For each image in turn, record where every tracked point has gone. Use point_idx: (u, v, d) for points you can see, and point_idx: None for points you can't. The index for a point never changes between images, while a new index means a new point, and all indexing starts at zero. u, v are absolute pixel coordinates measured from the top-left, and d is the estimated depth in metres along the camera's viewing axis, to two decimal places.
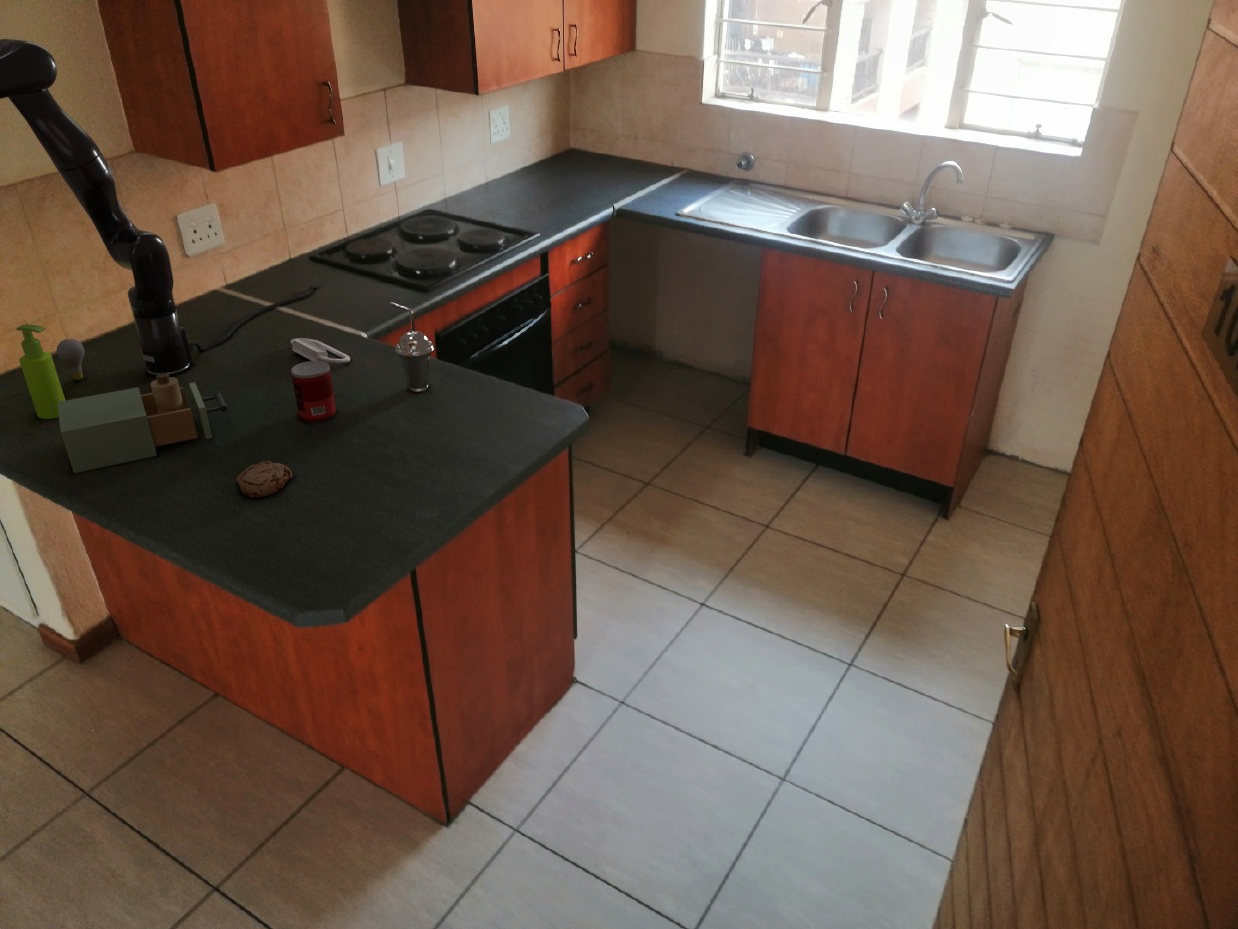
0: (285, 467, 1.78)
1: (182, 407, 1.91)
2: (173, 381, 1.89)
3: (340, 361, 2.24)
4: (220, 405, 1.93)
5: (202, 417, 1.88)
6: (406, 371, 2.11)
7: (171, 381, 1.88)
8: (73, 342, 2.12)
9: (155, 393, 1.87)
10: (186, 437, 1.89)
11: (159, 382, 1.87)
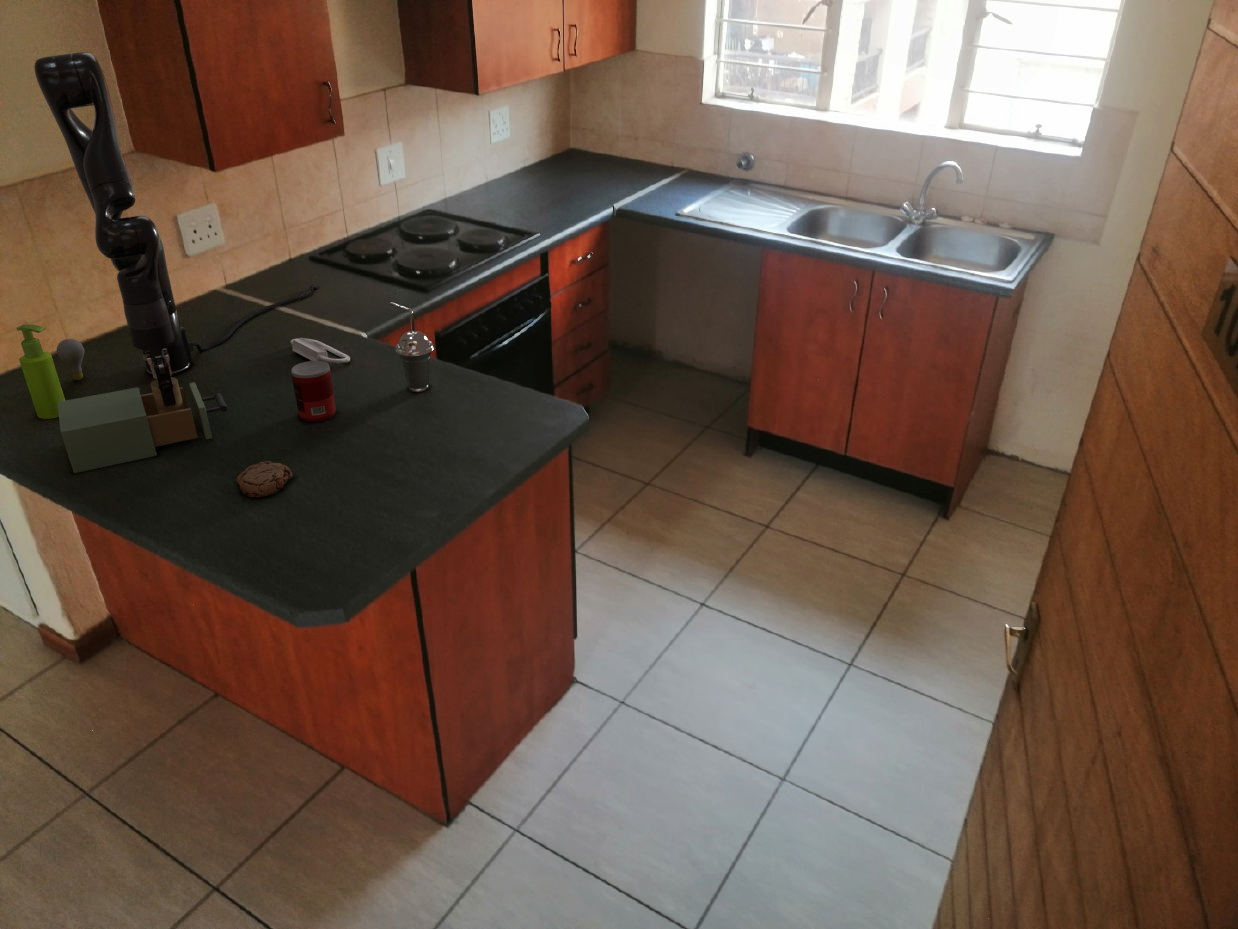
0: (285, 467, 1.78)
1: (182, 407, 1.91)
2: (173, 381, 1.88)
3: (340, 361, 2.24)
4: (220, 405, 1.93)
5: (202, 417, 1.88)
6: (406, 371, 2.11)
7: None
8: (73, 342, 2.12)
9: (155, 393, 1.87)
10: (186, 437, 1.89)
11: None
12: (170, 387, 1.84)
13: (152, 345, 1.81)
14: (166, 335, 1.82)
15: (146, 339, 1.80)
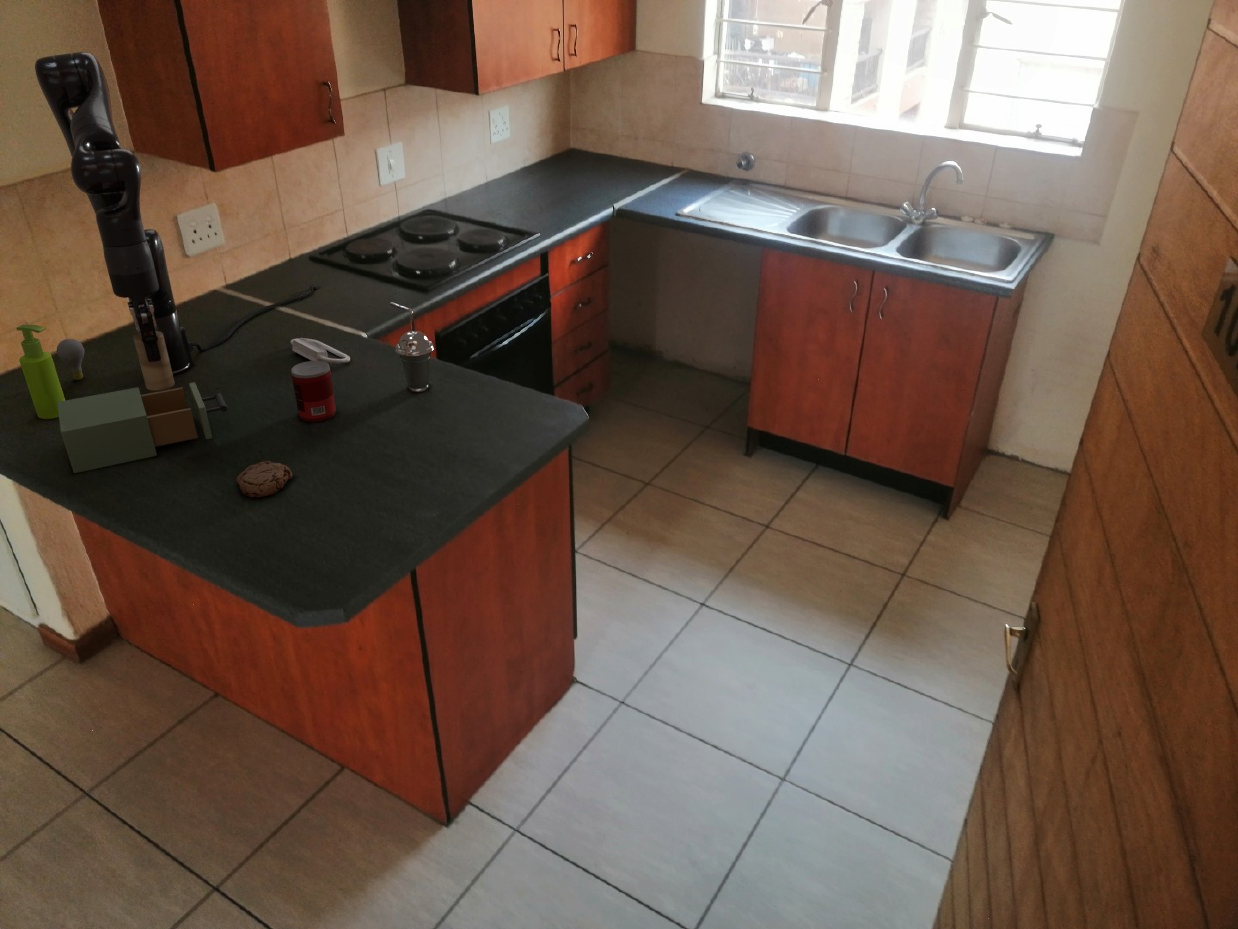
0: (285, 467, 1.78)
1: (168, 364, 1.75)
2: (158, 335, 1.73)
3: (340, 361, 2.24)
4: (220, 405, 1.93)
5: (202, 417, 1.88)
6: (406, 371, 2.11)
7: None
8: (73, 342, 2.12)
9: (138, 347, 1.71)
10: (186, 437, 1.89)
11: None
12: (154, 339, 1.68)
13: (134, 292, 1.65)
14: (149, 282, 1.66)
15: (128, 286, 1.64)
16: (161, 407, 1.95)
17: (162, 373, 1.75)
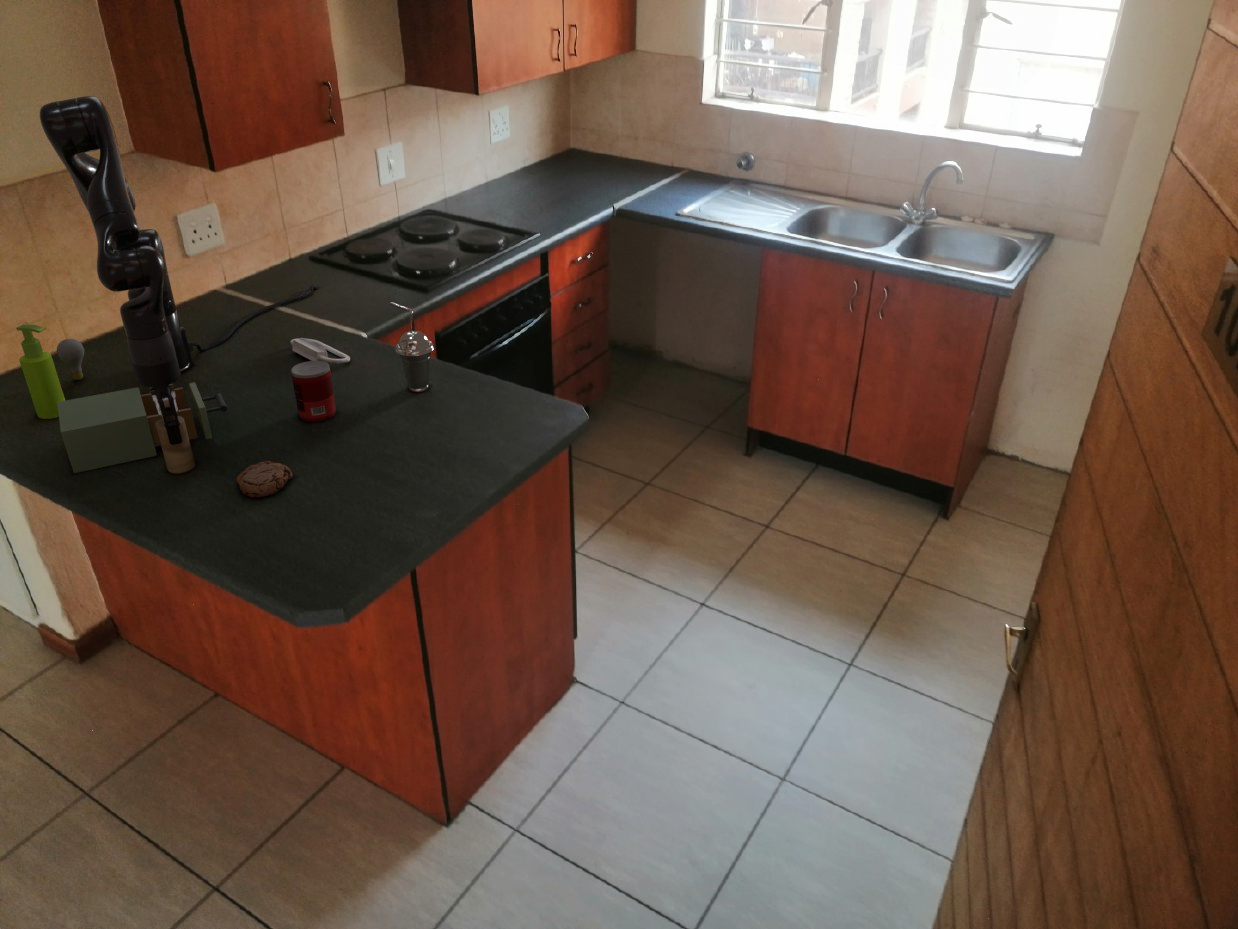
0: (285, 467, 1.78)
1: (189, 447, 1.81)
2: (179, 420, 1.78)
3: (340, 361, 2.24)
4: (220, 405, 1.93)
5: (202, 417, 1.88)
6: (406, 371, 2.11)
7: None
8: (73, 342, 2.12)
9: (161, 433, 1.77)
10: None
11: None
12: (176, 425, 1.72)
13: (157, 381, 1.70)
14: (172, 371, 1.71)
15: (151, 376, 1.69)
16: None
17: (184, 457, 1.80)
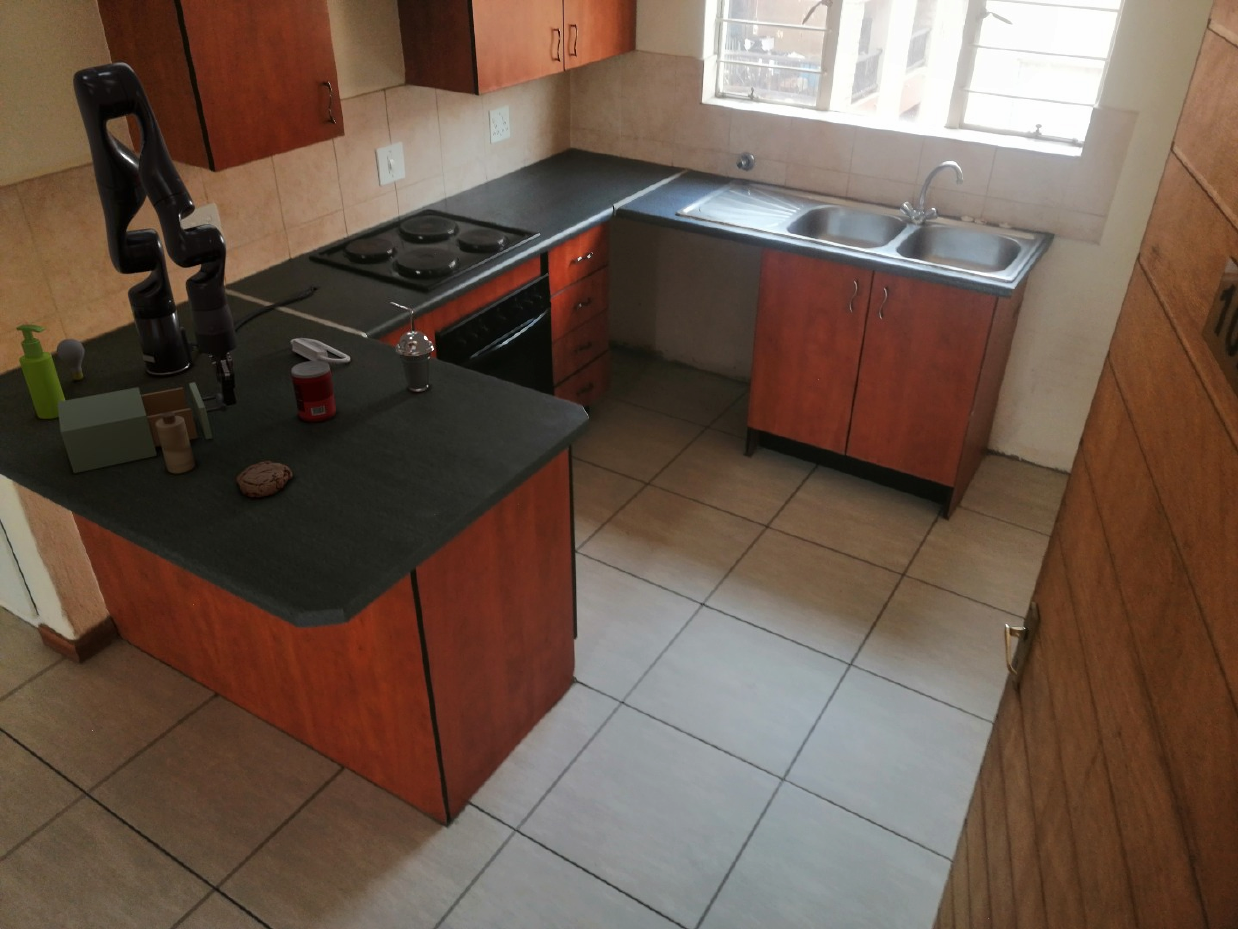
0: (285, 467, 1.78)
1: (189, 447, 1.81)
2: (179, 420, 1.78)
3: (340, 361, 2.24)
4: (220, 405, 1.93)
5: (202, 417, 1.88)
6: (406, 371, 2.11)
7: (177, 420, 1.78)
8: (73, 342, 2.12)
9: (161, 433, 1.77)
10: None
11: (165, 422, 1.77)
12: (232, 387, 1.92)
13: (218, 349, 1.87)
14: (230, 340, 1.88)
15: (212, 344, 1.86)
16: (161, 407, 1.95)
17: (184, 457, 1.80)
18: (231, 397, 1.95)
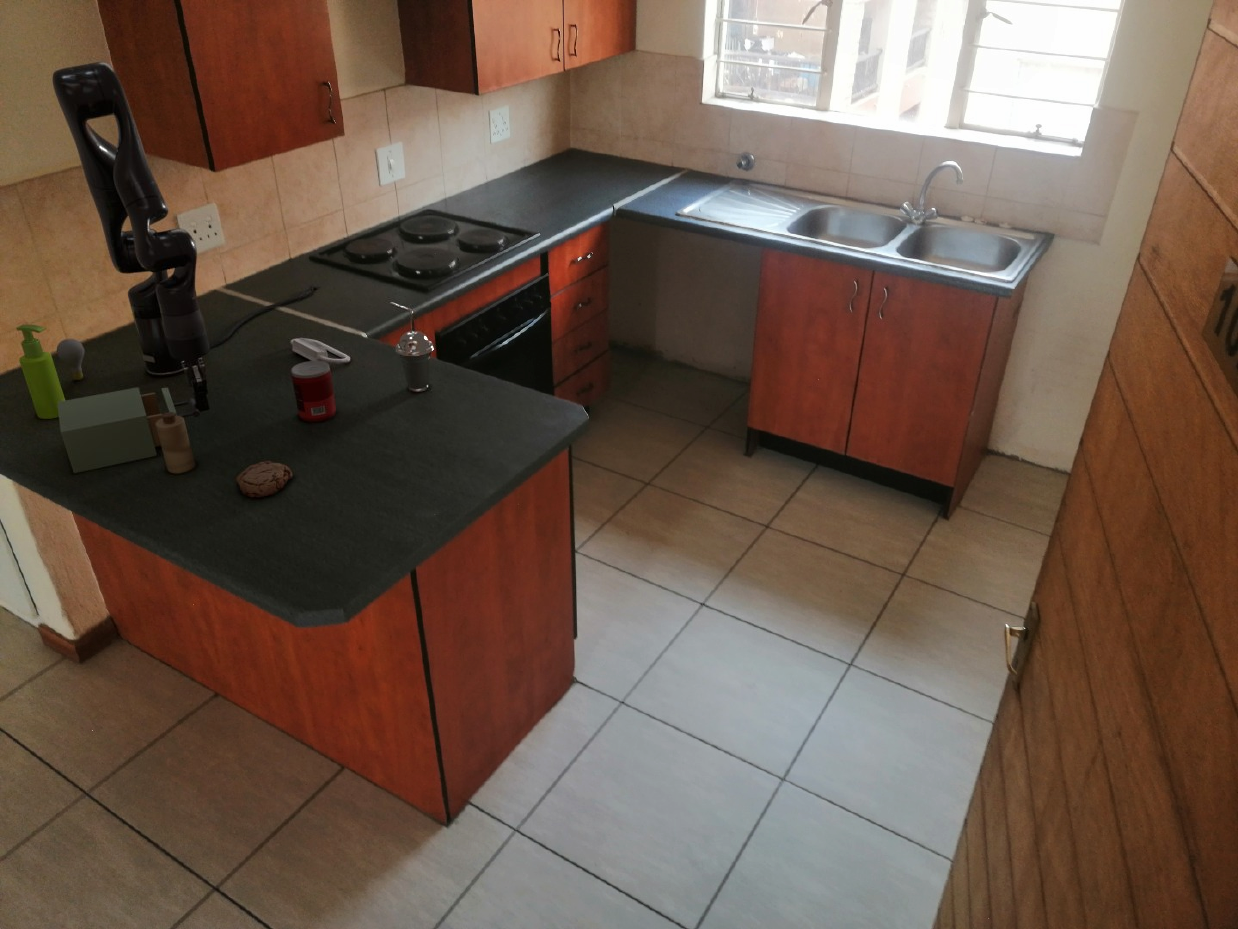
0: (285, 467, 1.78)
1: (189, 447, 1.81)
2: (179, 420, 1.78)
3: (340, 361, 2.24)
4: (192, 410, 1.91)
5: None
6: (406, 371, 2.11)
7: (177, 420, 1.78)
8: (73, 342, 2.12)
9: (161, 433, 1.77)
10: (157, 443, 1.87)
11: (165, 422, 1.77)
12: (204, 393, 1.90)
13: (189, 355, 1.85)
14: (202, 345, 1.86)
15: (183, 349, 1.84)
16: None
17: (184, 457, 1.80)
18: (204, 403, 1.93)
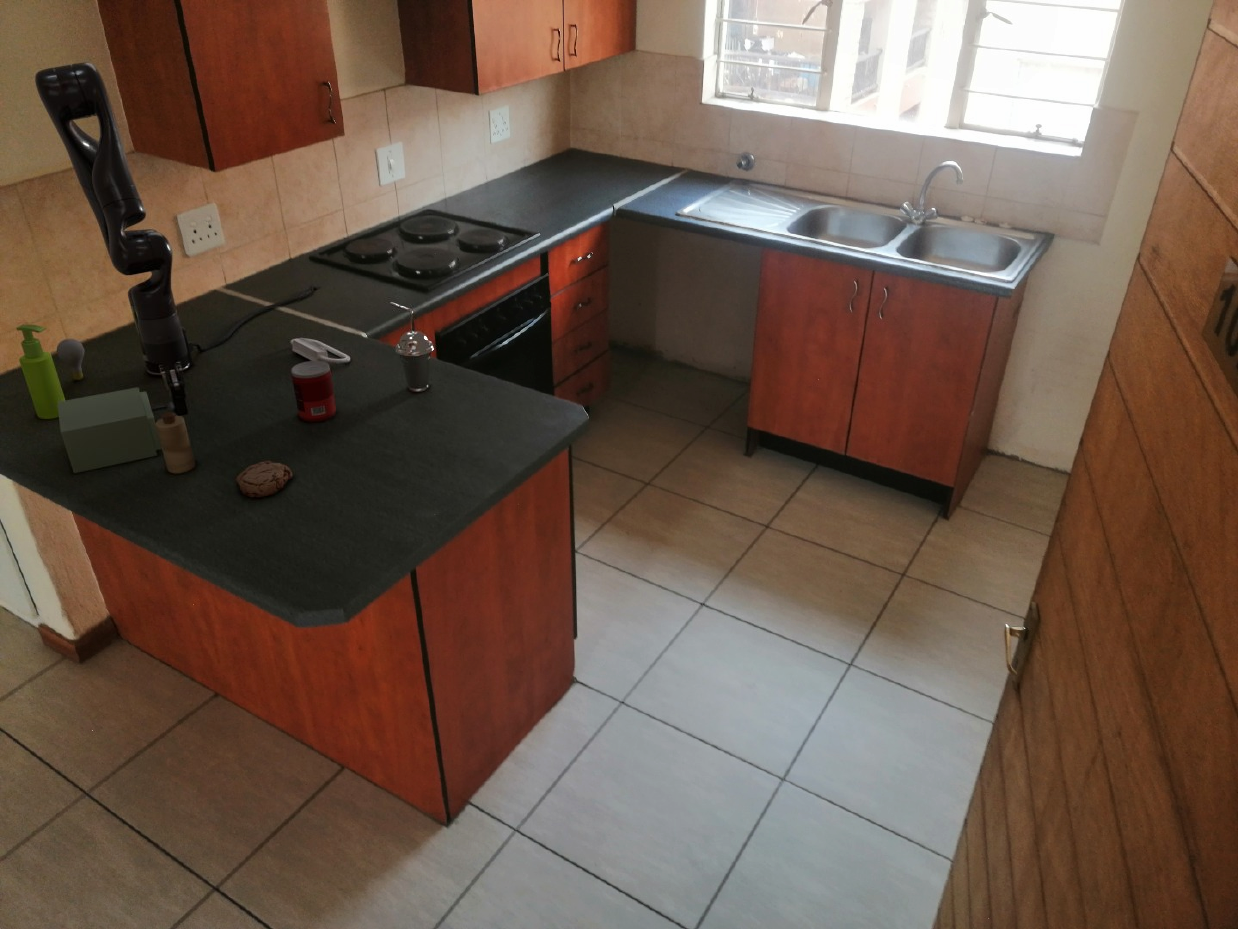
0: (285, 467, 1.78)
1: (189, 447, 1.81)
2: (179, 420, 1.78)
3: (340, 361, 2.24)
4: None
5: (151, 427, 1.84)
6: (406, 371, 2.11)
7: (177, 420, 1.78)
8: (73, 342, 2.12)
9: (161, 433, 1.77)
10: None
11: (165, 422, 1.77)
12: (182, 397, 1.88)
13: (166, 359, 1.83)
14: (179, 349, 1.84)
15: (160, 353, 1.82)
16: None
17: (184, 457, 1.80)
18: (182, 407, 1.91)
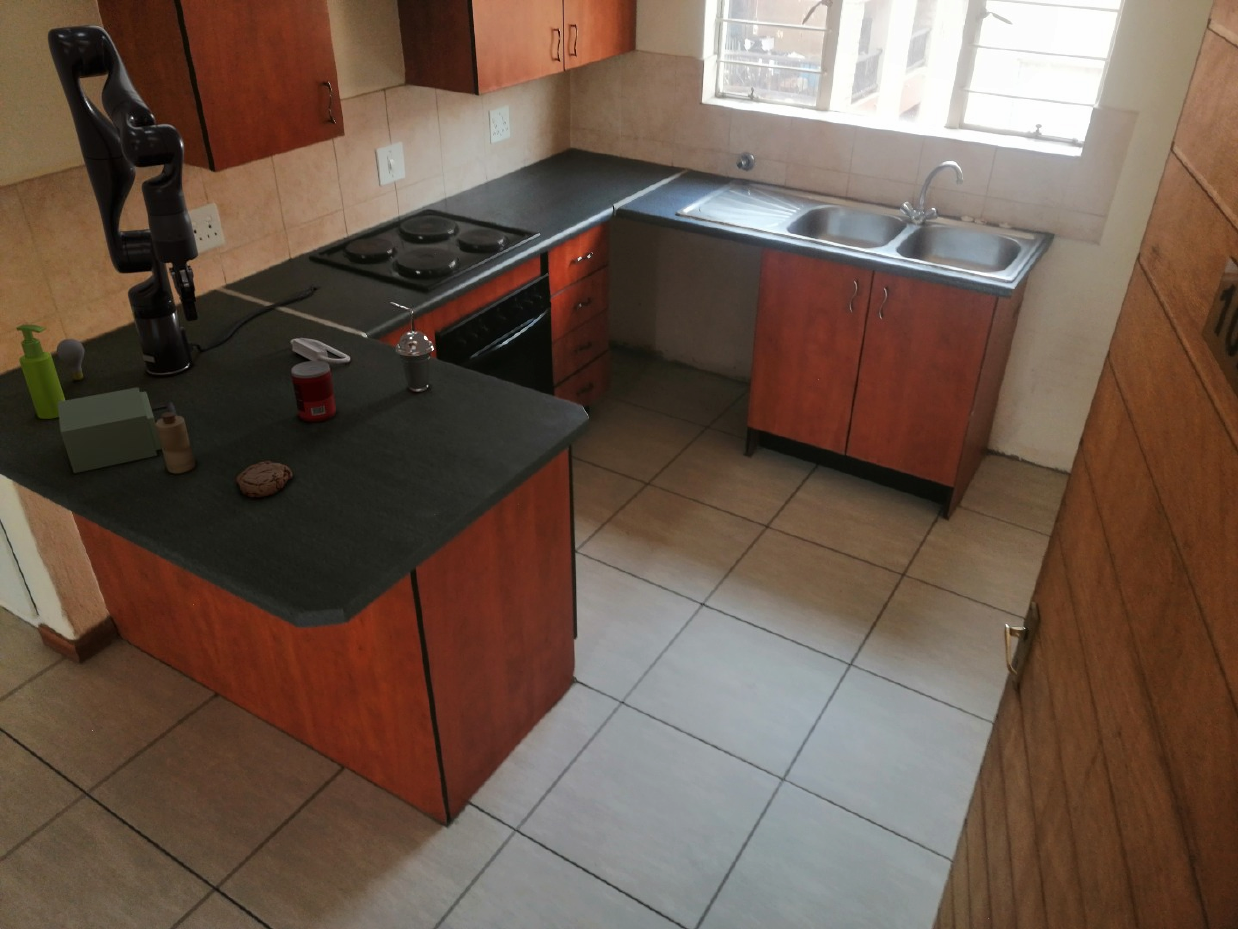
0: (285, 467, 1.78)
1: (189, 447, 1.81)
2: (179, 420, 1.78)
3: (340, 361, 2.24)
4: None
5: (151, 427, 1.84)
6: (406, 371, 2.11)
7: (177, 420, 1.78)
8: (73, 342, 2.12)
9: (161, 433, 1.77)
10: None
11: (165, 422, 1.77)
12: (192, 300, 1.84)
13: (176, 258, 1.79)
14: (190, 248, 1.80)
15: (170, 252, 1.78)
16: None
17: (184, 457, 1.80)
18: (192, 311, 1.87)
